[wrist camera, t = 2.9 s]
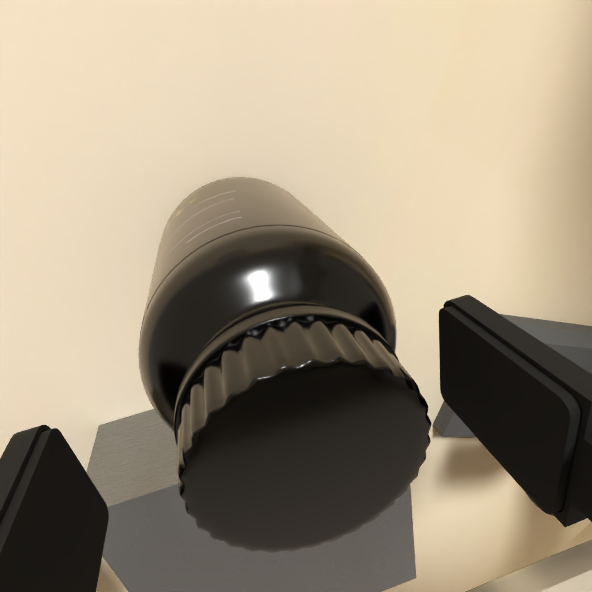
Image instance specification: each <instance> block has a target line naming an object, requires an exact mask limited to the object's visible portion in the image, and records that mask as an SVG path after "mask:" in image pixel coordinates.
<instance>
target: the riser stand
mask: <svg viewBox="0 0 592 592" xmlns="http://www.w3.org/2000/svg"><path fill="white" fill-rule="evenodd" d="M86 473H87V474H88V476H89V477H90V479H91V481H92V482H93V484H94V485H95V487H96V488H97V490H98V492H99V493H100V495H101V496H102V498H103V499H104V501H105V503H106V505H107V507H108V512H109V520H108V526H107V532H106V537H105V543H104V548H103V554H102V556H103V558H104V559H105V560H106V562H107V563H108V564H109V566H110V567H111V568H112V570H113V571H114V572H115V574H116V575H117V576H118V578H119V579H120V580H121V582H122V583H123V584H124V586H125V587H126V588H127V590H128V591H129V592H381V591H384V590H386V589H389V588H392V587H394V586H397V585H399V584H402V583H404V582H407V581H410V580H412V579H415V578H416V569H415V553H414V537H413V521H412V505H411V489H410V484H409V486H408V489H407V491H406V492H405V493H404V494H403V495H401V496H400V497H399V498H398V499H396V501H395V502H394V504H393V505H392V507H390V508H389V509H387V510H385V511H384V512H382V513H381V514H380V515H379V516H378V517H377V518H376V519H375V520H374V521H372V522H369V523H367V524H365V525H363V526H362V527H361V528H360V529H358V530H357V531H356V532H353V533H350V534H347V535H344V536H343V537H341V538H339V539H338V540H336V541H332V542H327V543H323V544H321V545H319V546H317V547H315V548H303V549H300V550H297V551H294V552H289V551H280V552H275V553H269V552H266V551H251V552H250V551H248V550H246V549H244V548H240V547H230V546H229V545H227V543H226V542H224V541H219V540H215V539H212V537H211V536H210V534H209V533H208V532H207V531H204V530H201V529H199V528H198V527H197V524H196V520H195V519H194V518H193V517H191V516H190V515H188V514H187V512H186V508H185V501H184V500H183V499H182V498H181V496H180V493H179V489H178V472H177V445H176V441H175V435H174V432H173V431H172V430H171V429H170V428H169V427H168V426H167V425H166V424H165V422H164V421H163V420H162V419H161V417H160V416H159V415H158V414H157V412H156V411H155V409H153V410H149V411H146V412H143V413H139V414H136V415H133V416H130V417H126V418H123V419H120V420H116V421H113V422H110V423H106V424H103V425H100V426H99V428H98V431H97V435H96V439H95V442H94V446H93V450H92V453H91V457H90V461H89V464H88V468H87V472H86Z"/></svg>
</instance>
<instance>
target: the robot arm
mask: <svg viewBox="0 0 592 592" xmlns="http://www.w3.org/2000/svg"><path fill="white" fill-rule="evenodd" d="M439 345H440V390H441V394H442V397H443V399H444V401H445V402H446V404H447V405H448V406H449V407H450V408H451V409H452V410H453V411H454V413H455V414H456V415H457V416H458V417H459V418H460V419H461V420H462V421H463V423H464V424H465V425H466V426H467V427H468V428H469V429H470V430H471V432H472V433H473V434H474V435H475V436H476V437H477V438H478V439H479V441H480V442H481V443H482V444H483V445H484V446H485V447H486V448H487V449H488V451H489V452H490V453H491V454H492V455H493V456H494V457H495V458H496V460H497V461H498V462H499V463H500V464H501V465H502V466H503V467H504V468H505V470H506V471H507V472H508V473H509V474H510V475H511V476H512V477H513V479H514V480H515V481H516V482H517V483H518V484H519V485H520V486H521V487H522V489H523V490H524V491H525V492H526V493H527V494H528V495H529V496H530V498H531V499H532V500H533V501H534V502H535V503H536V504H537V505H538V507H539V508H540V509H541V510H542V511H544V512H545V513H547V514H553V515H554V516H555V517H556V518H557V519H558V520H559V521H560V522H561V523H562V524H563V526H564V527H567V526H570V525H572V524H574V523H577V522H579V521H582V520H584V519H586V518H588V519H589V520H590V521H591V522H592V374H591V373H589V372H587V371H586V370H584V369H583V368H581V367H580V366H578V365H577V364H575V363H574V362H572V361H571V360H569V359H567V358H566V357H564V356H563V355H561V354H560V353H558V352H557V351H555V350H554V349H552V348H550V347H549V346H547V345H546V344H544V343H543V342H541V341H540V340H538V339H537V338H535V337H534V336H532V335H530V334H529V333H527V332H526V331H524V330H523V329H521V328H520V327H518V326H517V325H515V324H514V323H512V322H510V321H509V320H507V319H506V318H504V317H503V316H501V315H500V314H498V313H497V312H495V311H493V310H492V309H490V308H489V307H487V306H486V305H484V304H483V303H481V302H480V301H478V300H477V299H475V298H473V297H472V296H470V295H465V296H462V297H459V298H455V299H452V300H449V301H446V302H445V304H444V308H442V309H440V311H439ZM108 520H109V512H108V507H107V505H106V503H105V501H104V499H103V498H102V496H101V495H100V493H99V492H98V490H97V488H96V487H95V485H94V484H93V482H92V481H91V479H90V477H89V476H88V474H87V473H86V471H85V470H84V468H83V466H82V465H81V463H80V462H79V460H78V459H77V457H76V455H75V454H74V452H73V451H72V449H71V448H70V446H69V444H68V443H67V441H66V440H65V438H64V437H63V435H62V433H61V432H60V431H59V430H58V429H56V428H54V429H51V428H50V427H48V426H47V425H41V426H38V427H34V428H31V429H28V430H25V431H21V432H18V433H16V434H14V435H13V436H12V438H11V439H10V441H9V443H8V445H7V447H6V449H5V451H4V453H3V455H2V457H1V459H0V592H96V587H97V581H98V576H99V570H100V565H101V559H102V554H103V548H104V543H105V537H106V532H107V526H108ZM466 592H592V540H590V541H588V542H585V543H583V544H580V545H577V546H575V547H572V548H570V549H567V550H565V551H562V552H560V553H557V554H555V555H552V556H550V557H548V558H545V559H543V560H540V561H538V562H536V563H533V564H531V565H528V566H526V567H524V568H521V569H519V570H516V571H514V572H512V573H509V574H507V575H504V576H502V577H500V578H497V579H495V580H492V581H490V582H488V583H485V584H483V585H481V586H478V587H476V588H473V589H471V590H469V591H466Z"/></svg>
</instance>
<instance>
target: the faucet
mask: <svg viewBox="0 0 592 592" xmlns="http://www.w3.org/2000/svg"><path fill="white" fill-rule="evenodd" d="M500 315H501V316H503V317H504V318H506V319H507V320H509V321H510V322H512V323H514V324H515V325H517V326H518V327H520V328H521V329H523V330H524V331H526V332H527V333H529V334H530V335H532V336H534V337H535V338H537V339H538V340H540V341H541V342H543V343H544V344H546V345H547V346H549V347H550V348H552V349H554V350H555V351H557V352H558V353H560V354H561V355H563V356H564V357H566V358H567V359H569V360H571V361H572V362H574V363H575V364H577V365H578V366H580V367H581V368H583V369H584V370H586V371H587V372H589V373H591V374H592V326H584V325H577V324H569V323H562V322H554V321H547V320H539V319H532V318H525V317H517V316H510V315H502V314H500ZM433 426H434V427H435V428H436V430H437V431H438V432H439V434H440V435H441V436H442V437H476V436H475V435H474V434H473V433H472V432H471V430H470V429H469V428H468V427H467V426H466V425H465V424H464V423H463V421H462V420H461V419H460V418H459V417H458V416H457V415H456V414H455V413H454V411H453V410H452V409H451V408H450V407H449V406H448V405H447V404H446V402H445V401H444V402H443V404H442V407H441V409H440V411H439V413H438V415H437V417H436V419H435V421H434V423H433ZM526 494H527V493H526ZM527 495H528V494H527ZM528 497H529V498H530V496H529V495H528ZM530 499H531V498H530ZM531 501H532V502H533V503H534V504H535V505H536V506H537V507H538V505H537V504H536V503H535V502H534V501H533V500H532V499H531ZM550 515H553V514H550ZM553 516H554V515H553Z"/></svg>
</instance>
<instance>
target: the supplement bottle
mask: <svg viewBox="0 0 592 592" xmlns="http://www.w3.org/2000/svg"><path fill="white" fill-rule="evenodd" d="M396 335H397V334H396V320H395V314H394V309H393V306H392V302H391V299H390V297H389V294H388V292H387V290H386V288H385V286H384V284H383V282H382V281H381V279H380V277H379V276H378V275H377V273H376V272H375V271H374V269H373V268H372V267H371V266H370V265H369V264H368V263H367V262H366V261H365V259H364V258H363V257H362V256H361V255H360V254H359V253H358V252H357V251H355V250H354V249H353V248H352V247H351V246H350V245H349V244H347V243H346V242H345V241H344V240H343V239H342V238H341V237H340V236H338V235H337V234H336V233H335V232H334V231H333V230H332V229H330V228H329V227H328V226H327V225H326V224H325V223H324V222H323V221H321V220H320V219H319V218H318V217H317V216H316V215H315V214H313V213H312V212H311V211H310V210H309V209H308V208H307V207H306V206H304V205H303V204H302V203H301V202H300V201H299V200H297V199H296V198H295V197H294V196H292V195H291V194H290V193H288V192H287V191H285V190H284V189H282V188H280V187H278V186H276V185H274V184H272V183H269V182H267V181H263V180H260V179H255V178H246V177H234V178H226V179H222V180H218V181H215V182H212V183H209V184H207V185H205V186H202V187H201V188H199V189H197V190H196V191H194V192H193V193H191V194H190V195H189V196H188V197H187V198H185V199H184V200H183V201H182V202H181V203H180V204H179V206H178V207H177V208H176V209H175V211H174V212H173V214H172V215H171V217H170V219H169V220H168V222H167V224H166V227H165V229H164V232H163V235H162V239H161V242H160V246H159V250H158V255H157V259H156V263H155V268H154V272H153V277H152V281H151V286H150V290H149V295H148V299H147V303H146V308H145V312H144V317H143V322H142V327H141V332H140V341H139V368H140V374H141V379H142V382H143V386H144V389H145V392H146V394H147V396H148V398H149V400H150V402H151V404H152V406H153V407H154V409H155V411H156V412H157V414H158V415H159V416H160V417H161V419H162V420H163V421H164V422H165V424H166V425H167V426H168V427H169V428H170V429H171V430H172V431H173V432H174V435H175V441H176V445H177V472H178V489H179V493H180V496H181V498H182V499H183V500H184V501H185V508H186V512H187V514H188V515H190V516H191V517H193V518H194V519H195V520H196V524H197V527H198V528H199V529H201V530H204V531H207V532H208V533H209V534H210V536H211V537H212V539H215V540H219V541H224V542H226V543H227V545H229V546H230V547H240V548H244V549H246V550H248V551H250V552H251V551H266V552H269V553H275V552H280V551H289V552H294V551H297V550H300V549H303V548H315V547H317V546H319V545H321V544H323V543H327V542H332V541H336V540H338V539H339V538H341V537H343V536H344V535H347V534H350V533H353V532H356V531H357V530H358V529H360V528H361V527H362V526H363V525H365V524H367V523H369V522H372V521H374V520H375V519H376V518H377V517H378V516H379V515H380V514H381V513H382V512H384V511H385V510H387V509H389V508H390V507H392V505H393V504H394V502H395V501H396V499H398V498H399V497H400V496H401V495H403V494H404V493H405V492H406V491H407V489H408V486H409V484H410V483H411V482H412V481H413V480H414V479H415V478H416V477H417V476H418V472H419V467H420V466H421V465H422V464H423V462H424V461H425V459H426V452H425V451H426V449H427V447H428V446H429V444H430V442H431V441H430V437H429V435H428V433H429V430H430V427H431V421H430V419H429V417H428V415H427V412H428V405H427V403H426V401H425V399H424V398H423V396H422V395H421V394H420V391H419V388H418V386H417V384H416V383H415V381H414V380H413V379H412V377H411V376H410V375H409V374H408V372H407V371H406V370H405V369H404V367H403V366H402V365H401V364H400V363H399V360H398V358H397V356H396V354H395V349H396Z"/></svg>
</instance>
